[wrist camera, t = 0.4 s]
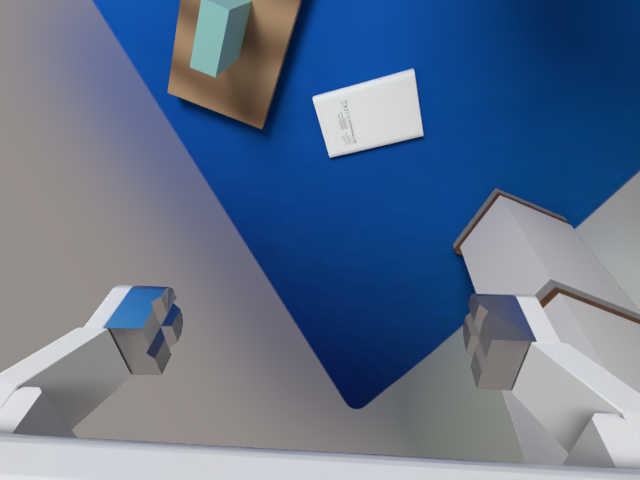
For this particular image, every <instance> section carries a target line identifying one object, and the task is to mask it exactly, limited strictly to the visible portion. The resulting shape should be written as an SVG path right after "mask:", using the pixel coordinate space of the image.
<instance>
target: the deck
mask: <svg viewBox="0 0 640 480" xmlns="http://www.w3.org/2000/svg"><path fill="white" fill-rule="evenodd" d="M250 1H252V4H251V8H250V12H249V16H248V21H247V25H246V29H245V33H244V38H243V42H242V46H241V50H240V55H239V59H237V60H236V61H235V62H234V63H232V64H231V65H230V66H229V67H228V68H226V69H225V70H224V71H223V72H221V73H220V74H219V75H218V76H217V77H213V76H211V75H208V74H206V73H203V72H201V71H198V70H196V69H193V68H191V67H190V63H191V57H192V51H193V45H194V39H195V33H196V27H197V21H198V15H199V9H200V4H201V0H181V1H180V8H179V15H178V22H177V29H176V36H175V43H174V50H173V58H172V65H171V72H170V79H169V86H168V93H170V94H172V95H175V96H177V97H180V98H182V99H185V100H188V101H190V102H193V103H195V104H198V105H200V106H203V107H206V108H208V109H211V110H213V111H216V112H218V113H221V114H223V115H226V116H229V117H231V118H234V119H236V120H239V121H241V122H244V123H247V124H249V125H252V126H254V127H257V128H259V129H262V128H263V126H264V125H265V123H266V120H267V116H268V113H269V110H270V106H271V103H272V100H273V96H274V93H275V90H276V86H277V83H278V80H279V76H280V73H281V70H282V66H283V63H284V60H285V56H286V53H287V50H288V47H289V43H290V40H291V37H292V33H293V30H294V27H295V23H296V20H297V17H298V13H299V10H300V7H301V3H302V0H250Z"/></svg>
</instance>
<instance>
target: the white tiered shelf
mask: <svg viewBox="0 0 640 480" xmlns="http://www.w3.org/2000/svg"><path fill="white" fill-rule="evenodd" d="M453 247H454V250H455V253H458V254H460V255H463V257H464V260H465V263H466V266H467V268H468V271H469V274H470V277H471V280H472V282H473V285H474V288H475V291H476V294H511V295H512V294H533V295H534V296H536V297H537V299H538V301H539V303H540V304H541V306H542V308H543V310H544V312H545V314H546V315H547V317H548V319H549V321H550V323H551V325H552V326H553V328H554V330H555V332H556V334H557V336H558V337H559V339H560V341H561V343H568V344H569V345H571V346H572V347H574V348H575V349H577V350H578V351H579V352H581V353H582V354H584V355H585V356H587V357H588V358H589V359H591V360H592V361H594V362H595V363H597V364H598V365H599V366H601V367H602V368H604V369H605V370H607V371H608V372H609V373H611V374H612V375H614V376H615V377H616V378H618V379H619V380H621V381H622V382H624V383H625V384H626V385H628V386H629V387H631V388H632V389H634V390H635V391H636V392H638V393H639V394H640V311H639V309H638V308H637V307H636V306H635V304H634V303H633V302H632V301H631V300H630V298H629V297H628V296H627V295H626V293H625V292H624V291H623V290H622V288H621V287H620V286H619V285H618V283H617V282H616V281H615V280H614V278H613V277H612V276H611V275H610V273H609V272H608V271H607V270H606V268H605V267H604V266H603V265H602V263H601V262H600V261H599V260H598V258H597V257H596V256H595V255H594V253H593V252H592V251H591V250H590V248H589V247H588V246H587V245H586V244H585V242H584V241H583V240H582V239H581V238H580V236H579V235H578V234H577V232H576V231H575V230H574V229H573V227H572V226H571V225H570V224H569V222H568V221H567V220H566V219H565V217H563V216H560V215H558V214H556V213H553V212H551V211H549V210H546V209H544V208H542V207H539V206H537V205H535V204H532V203H530V202H527V201H525V200H523V199H520V198H518V197H516V196H513V195H511V194H509V193H506V192H504V191H502V190H499V189H497V188H495V189H494V191H493V192H492V193H491V195H490V196H489V197H488V199H487V200H486V201H485V203H484V204H483V205H482V207H481V208H480V209H479V211H478V212H477V213H476V215H475V216H474V217H473V219H472V220H471V221H470V222H469V224H468V225H467V226H466V228H465V229H464V230H463V232H462V233H461V234H460V236H459V237H458V238H457V240H456V241H455V242H454V244H453ZM501 391H502V394H503V396H504V399H505V403H506V406H507V409H508V412H509V415H510V418H511V421H512V424H513V427H514V430H515V433H516V436H517V438H518V442H519V445H520V448H521V451H522V454H523V457H524V459H525V463H533V464H551V465H562V464H563V462H564V461H565V459H566V457H567V456H568V454H569V453H568V452H567V451H566V450H565V449H564V448H563V447H562V446H561V445H560V444H559V443H558V442H557V440H556V439H555V438H554V437H553V436H552V435H551V434H550V433H549V432H548V431H547V430H546V429H545V428H544V426H543V425H542V424H541V423H540V422H539V421H538V420H537V419H536V418H535V417H534V416H533V415H532V414H531V412H530V411H529V410H528V409H527V408H526V407H525V406H524V405H523V404H522V403H521V402H520V401H519V400H518V399H517V397H516V396H515V395H514V394H513V393H512V391H511V390H501Z"/></svg>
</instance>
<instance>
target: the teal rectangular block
mask: <svg viewBox="0 0 640 480" xmlns="http://www.w3.org/2000/svg"><path fill="white" fill-rule="evenodd" d="M251 4H252V1H250V0H201V4H200V9H199V15H198V21H197V27H196V33H195V39H194V45H193V51H192V57H191V63H190V67H191V68H193V69H196V70H198V71H201V72H203V73H206V74H208V75H211V76H213V77H217V76H218V75H219V74H220V73H221V72H223V71H224V70H225V69H226V68H228V67H229V66H230V65H231V64H232V63H234V62H235V61H236V60H237V59H239V55H240V50H241V46H242V42H243V38H244V33H245V29H246V25H247V21H248V16H249V12H250V8H251Z"/></svg>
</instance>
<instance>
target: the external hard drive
mask: <svg viewBox="0 0 640 480" xmlns="http://www.w3.org/2000/svg"><path fill="white" fill-rule="evenodd" d="M313 103H314V106H315V109H316V113H317V116H318V119H319V123H320V126H321V130H322V133H323V136H324V140H325V143H326V147H327V150H328V154H329V157H330V158H331V157H336V156H340V155H344V154H348V153H353V152H357V151H362V150H366V149H370V148H374V147H379V146H383V145H387V144H391V143H396V142H400V141H404V140H408V139H412V138H417V137H421V136H423V128H422V121H421V114H420V107H419V100H418V93H417V86H416V79H415V72H414V69H410V70H406V71H403V72H399V73H395V74H392V75H388V76H385V77H381V78H378V79H374V80H370V81H367V82H363V83H360V84H356V85H352V86H349V87H345V88H342V89H338V90H334V91H331V92H327V93H324V94H320V95H316V96H313Z"/></svg>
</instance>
